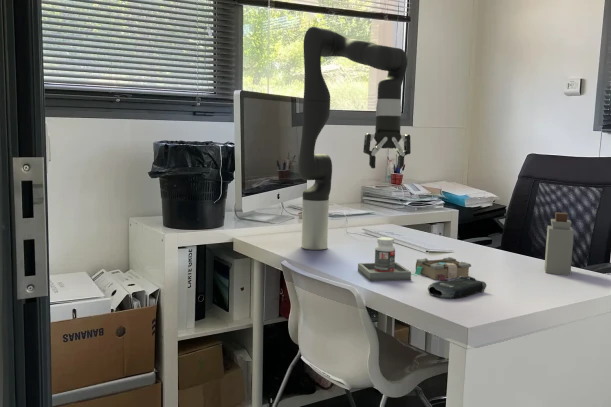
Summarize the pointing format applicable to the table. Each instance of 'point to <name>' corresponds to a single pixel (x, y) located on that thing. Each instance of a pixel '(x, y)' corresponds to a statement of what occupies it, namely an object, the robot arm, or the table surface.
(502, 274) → the table surface
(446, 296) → the electronic device
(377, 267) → the pill bottle
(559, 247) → the perfume bottle
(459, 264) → the cardboard box
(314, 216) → the robot arm
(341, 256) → the table surface
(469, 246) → the table surface
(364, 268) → the tray
